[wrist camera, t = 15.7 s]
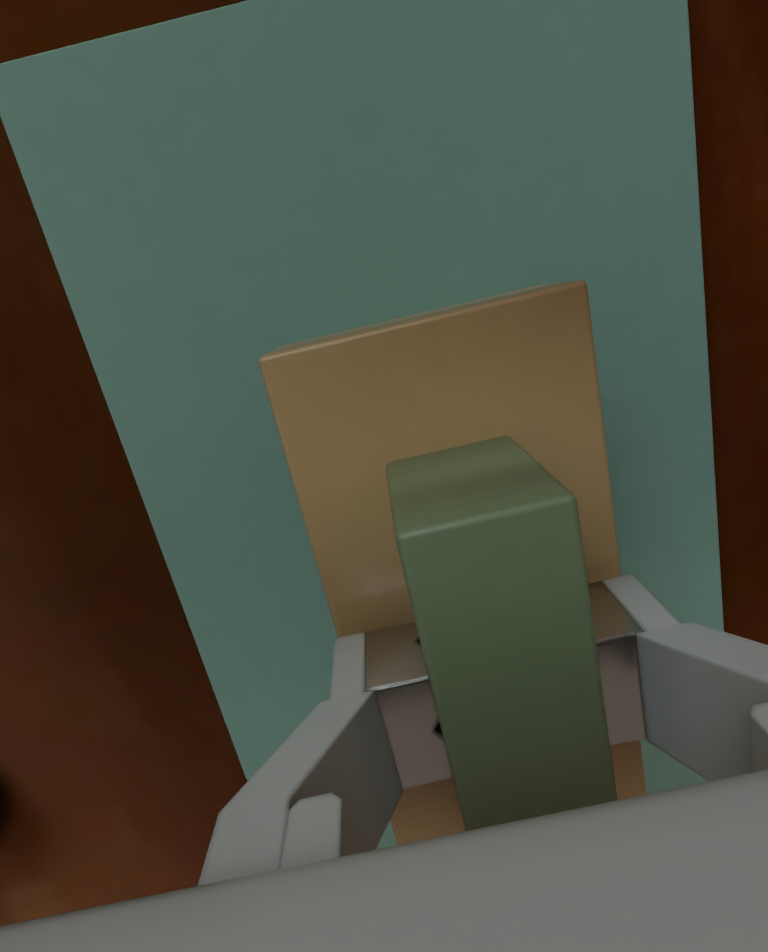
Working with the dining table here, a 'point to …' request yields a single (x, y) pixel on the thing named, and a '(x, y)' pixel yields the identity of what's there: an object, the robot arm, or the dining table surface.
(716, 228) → the dining table surface
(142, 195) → the mat
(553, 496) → the brush
